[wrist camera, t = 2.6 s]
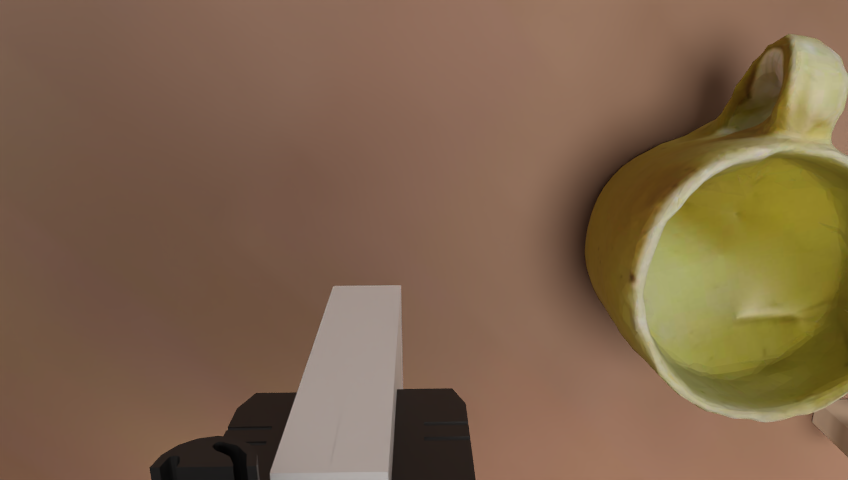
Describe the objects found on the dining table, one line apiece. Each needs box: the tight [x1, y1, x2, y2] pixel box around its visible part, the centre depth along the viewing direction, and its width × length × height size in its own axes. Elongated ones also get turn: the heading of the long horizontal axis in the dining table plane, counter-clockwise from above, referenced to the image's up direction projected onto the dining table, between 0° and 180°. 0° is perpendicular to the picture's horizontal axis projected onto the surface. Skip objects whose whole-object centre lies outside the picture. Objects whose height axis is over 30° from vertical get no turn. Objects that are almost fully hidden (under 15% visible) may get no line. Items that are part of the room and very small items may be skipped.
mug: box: [585, 34, 848, 422], centre depth 24 cm, size 12×10×10 cm
